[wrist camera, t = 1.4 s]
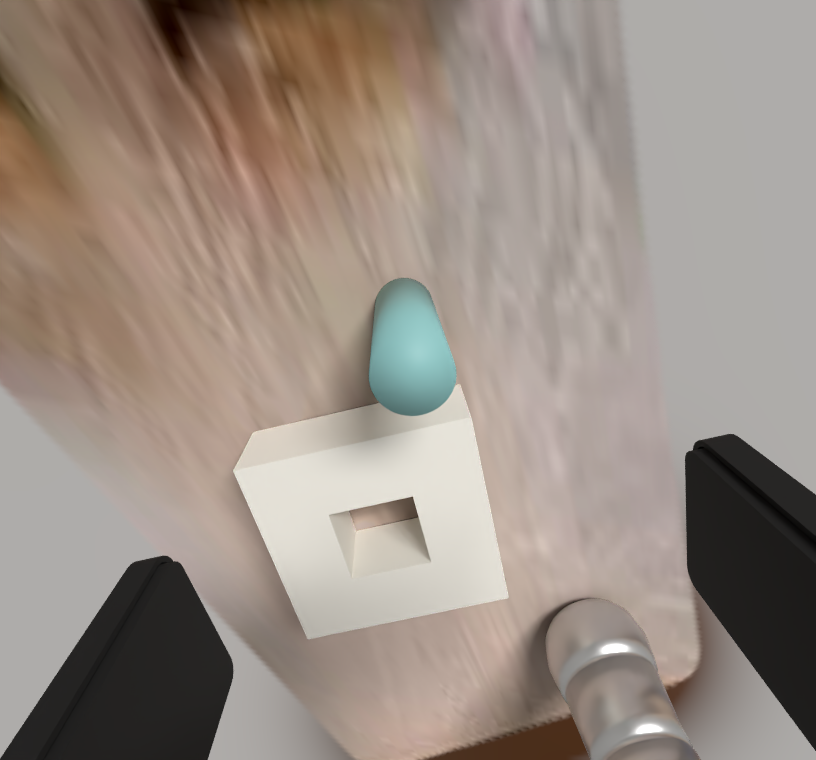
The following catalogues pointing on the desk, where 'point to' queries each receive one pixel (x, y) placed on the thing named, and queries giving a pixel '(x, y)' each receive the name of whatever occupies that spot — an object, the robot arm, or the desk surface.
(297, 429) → the hole block
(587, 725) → the plastic bottle
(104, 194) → the desk surface
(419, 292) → the peg
